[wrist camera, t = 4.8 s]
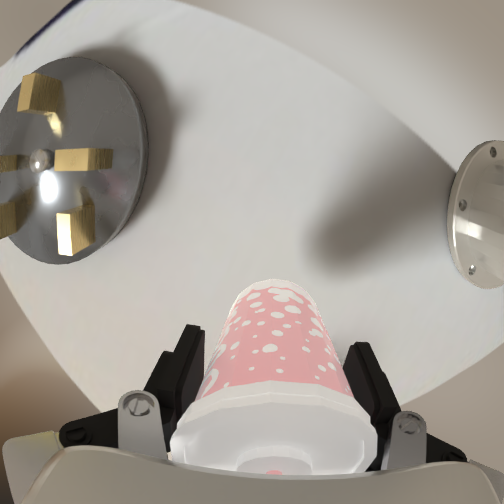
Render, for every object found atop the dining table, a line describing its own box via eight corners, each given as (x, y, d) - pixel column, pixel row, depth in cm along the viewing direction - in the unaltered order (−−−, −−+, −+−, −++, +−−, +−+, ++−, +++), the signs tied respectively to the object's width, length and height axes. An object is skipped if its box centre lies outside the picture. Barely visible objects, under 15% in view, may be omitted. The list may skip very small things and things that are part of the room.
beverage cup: (269, 238, 14) (253, 629, 1) (354, 312, 15) (453, 576, 2) (193, 321, 16) (89, 579, 2) (276, 379, 17) (272, 614, 3)
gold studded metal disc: (9, 81, 15) (-26, 74, 11) (162, 51, 15) (137, 25, 11) (3, 247, 20) (-31, 263, 15) (144, 269, 20) (117, 296, 15)
